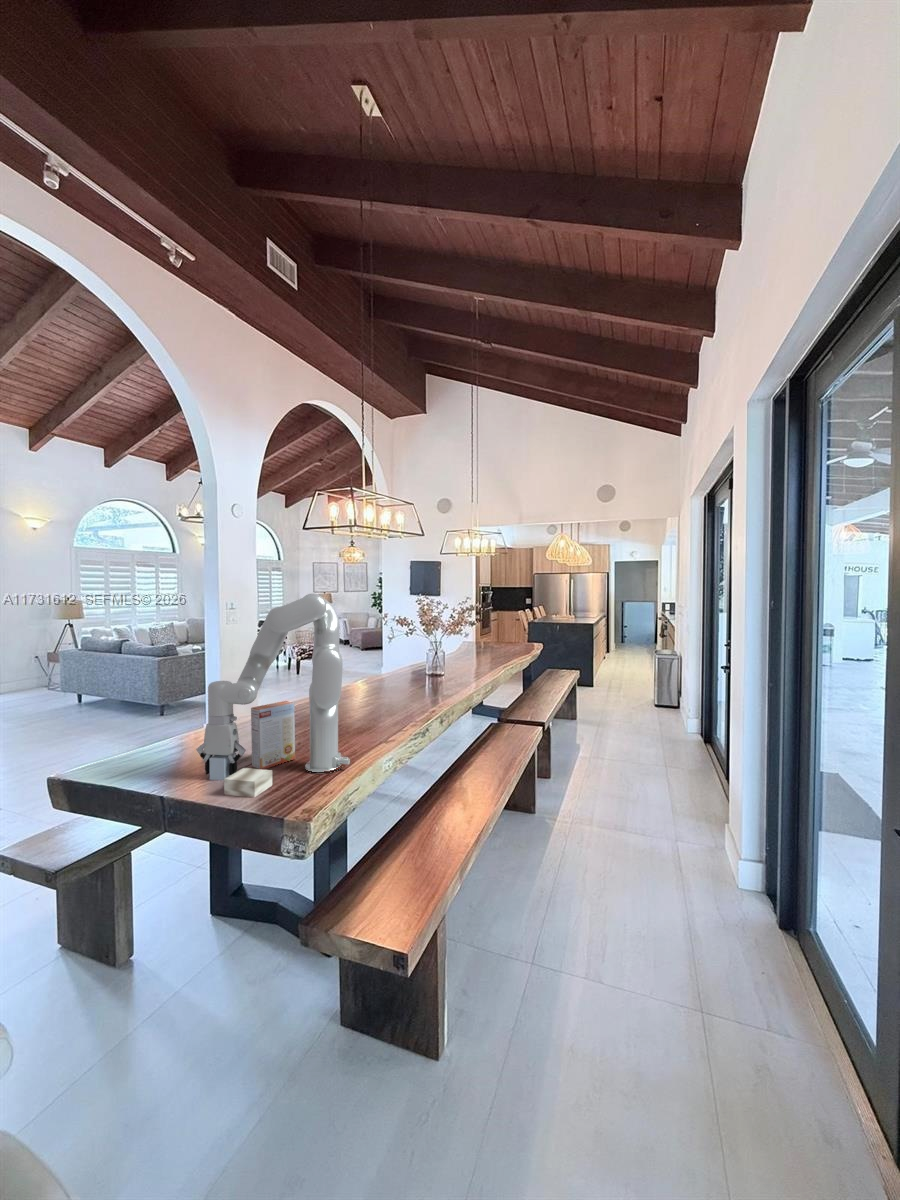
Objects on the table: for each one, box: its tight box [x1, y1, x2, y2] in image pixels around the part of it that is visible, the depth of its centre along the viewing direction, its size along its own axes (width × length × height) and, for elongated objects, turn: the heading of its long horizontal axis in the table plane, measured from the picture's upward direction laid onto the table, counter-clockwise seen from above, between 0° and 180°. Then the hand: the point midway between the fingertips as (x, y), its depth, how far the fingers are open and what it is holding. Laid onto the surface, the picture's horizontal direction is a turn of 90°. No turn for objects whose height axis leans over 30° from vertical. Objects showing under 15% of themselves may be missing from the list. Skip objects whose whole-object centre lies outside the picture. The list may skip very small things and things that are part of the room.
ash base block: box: [223, 767, 273, 798], centre depth 164 cm, size 10×10×5 cm
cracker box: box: [250, 700, 296, 770], centre depth 188 cm, size 14×6×21 cm, turn 141°
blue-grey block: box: [209, 755, 231, 781], centre depth 174 cm, size 5×5×7 cm
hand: (221, 773), depth 174 cm, fingers open, 7 cm apart
